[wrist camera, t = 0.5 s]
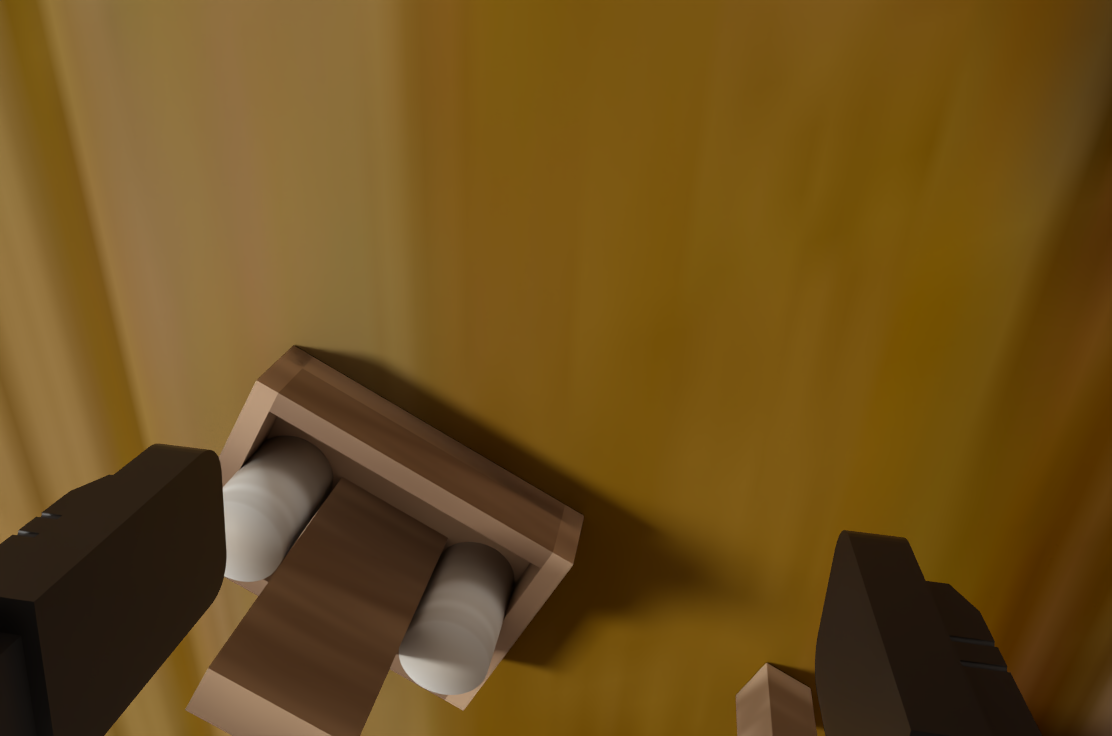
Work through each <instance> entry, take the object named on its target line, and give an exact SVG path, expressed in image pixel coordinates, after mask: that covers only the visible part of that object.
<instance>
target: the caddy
mask: <svg viewBox="0 0 1112 736" xmlns="http://www.w3.org/2000/svg"><path fill="white" fill-rule="evenodd" d="M219 460H220V464H221V470H222V484H223V501H224V517H225V534H226V550H227V560H226V569H225V574H224V577H225V578H227V579H229V580H231V581H232V582H234V583H236V584H238V585H240V586H241V587H243V588H245V589H247V590H249V591H250V592H252V593H254V594H256V595H258V598H257V599H256V601H255V602H254V603H253V605H252V606H251V608H250V609H249V611H248V612H247V613H246V615H245V616H244V618H243V619H242V621H241V622H240V623H239V625H238V626H237V628H236V629H235V631H234V632H233V633H232V635H231V636H230V638H229V639H228V641H227V642H226V643H225V645H224V646H223V648H222V649H221V651H220V652H219V653H218V655H217V656H216V658H215V659H214V661H213V662H212V663H211V665H210V666H209V668H208V669H207V671H206V673H205V675H204V677H203V678H202V680H201V682H200V684H199V686H198V687H197V689H196V691H195V693H194V695H193V697H192V698H191V700H190V702H189V704H188V706H187V707H186V709H185V710H186V711H188V712H190V713H192V714H194V715H196V716H197V717H199V718H201V719H203V720H205V721H207V722H208V723H210V724H212V725H214V726H216V727H218V728H219V729H221V730H223V731H225V732H227V733H229V734H231V735H232V736H360V734H361V732H362V730H363V727H364V725H365V723H366V721H367V718H368V716H369V714H370V712H371V709H372V707H373V705H374V703H375V700H376V698H377V696H378V694H379V692H380V689H381V687H382V685H383V683H384V680H385V678H386V676H387V674H388V671H389V669H390V670H392V671H394V672H395V673H397V674H399V675H401V676H403V677H404V678H406V679H408V680H410V681H411V682H413V683H415V684H417V685H419V686H420V687H422V688H424V689H426V690H428V691H429V692H431V693H433V694H435V695H437V696H438V697H440V698H442V699H444V700H445V701H447V702H449V703H451V704H453V705H454V706H456V707H458V708H460V709H462V710H464V709H465V708H466V706H467V705H468V704H469V702H470V701H471V700H472V698H473V697H474V696H475V694H476V693H477V692H478V690H479V689H480V688H481V686H482V685H483V684H484V682H485V681H486V680H487V678H488V677H489V676H490V674H491V673H492V672H493V670H494V669H495V668H496V666H497V665H498V664H499V663H500V661H501V660H502V659H503V657H504V656H505V655H506V653H507V652H508V651H509V649H510V648H511V647H512V645H513V644H514V643H515V641H516V640H517V639H518V637H519V636H520V635H521V633H522V632H523V631H524V629H525V628H526V627H527V625H528V624H529V623H530V621H531V620H532V619H533V617H534V616H535V615H536V613H537V612H538V611H539V609H540V608H541V607H542V605H543V604H544V603H545V601H546V600H547V599H548V597H549V596H550V595H551V594H552V592H553V591H554V590H555V588H556V587H557V586H558V584H559V583H560V582H561V580H562V579H563V578H564V576H565V575H566V574H567V572H568V571H569V570H570V568H571V567H572V566H573V564H574V559H575V555H576V550H577V546H578V541H579V537H580V532H581V528H582V523H583V519H584V516H583V515H582V514H580V513H578V512H577V511H575V510H573V509H571V508H570V507H568V506H566V505H565V504H563V503H561V502H560V501H558V500H556V499H554V498H553V497H551V496H549V495H548V494H546V493H544V492H543V491H541V490H539V489H537V488H536V487H534V486H532V485H531V484H529V483H527V482H526V481H524V480H522V479H520V478H519V477H517V476H515V475H514V474H512V473H510V472H508V471H507V470H505V469H503V468H502V467H500V466H498V465H497V464H495V463H493V462H491V461H490V460H488V459H486V458H485V457H483V456H481V455H480V454H478V453H476V452H474V451H473V450H471V449H469V448H468V447H466V446H464V445H463V444H461V443H459V442H457V441H456V440H454V439H452V438H451V437H449V436H447V435H445V434H444V433H442V432H440V431H439V430H437V429H435V428H434V427H432V426H430V425H428V424H427V423H425V422H423V421H422V420H420V419H418V418H417V417H415V416H413V415H411V414H410V413H408V412H406V411H405V410H403V409H401V408H400V407H398V406H396V405H394V404H393V403H391V402H389V401H388V400H386V399H384V398H382V397H381V396H379V395H377V394H376V393H374V392H372V391H371V390H369V389H367V388H365V387H364V386H362V385H360V384H359V383H357V382H355V381H354V380H352V379H350V378H348V377H347V376H345V375H343V374H342V373H340V372H338V371H337V370H335V369H333V368H331V367H330V366H328V365H326V364H325V363H323V362H321V361H319V360H318V359H316V358H314V357H313V356H311V355H309V354H308V353H306V352H304V351H302V350H301V349H299V348H297V347H296V346H294V345H293V346H292V347H291V348H290V349H289V350H288V351H287V352H286V353H285V354H284V355H283V356H282V357H281V358H280V359H279V360H277V361H276V362H275V363H274V364H273V365H272V366H271V367H270V368H269V369H268V370H267V371H266V372H265V373H264V374H263V375H262V376H260V377H259V378H258V379H257V380H256V382H255V384H254V386H253V388H252V390H251V393H250V395H249V397H248V399H247V401H246V403H245V405H244V407H243V409H242V411H241V413H240V415H239V417H238V419H237V421H236V423H235V425H234V427H233V429H232V432H231V434H230V436H229V438H228V440H227V442H226V444H225V446H224V448H223V450H222V452H221V454H220V456H219Z"/></svg>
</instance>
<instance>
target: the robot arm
mask: <svg viewBox="0 0 1112 736" xmlns="http://www.w3.org/2000/svg"><path fill="white" fill-rule="evenodd" d="M226 560H227V550H226V534H225V517H224V501H223V484H222V470H221V464H220V460H219V457H218V456H217V454H216V453H215V452H214V451H212V450H206V449H198V448H190V447H182V446H174V445H166V444H154V445H152V446H150V447H148V448H147V449H146V450H145V451H143V452H142V453H141V454H140V455H138V456H137V457H136V458H135V459H133V460H132V461H131V462H129V463H128V464H127V465H126V466H124V467H123V468H122V469H121V470H119V471H118V472H117V473H115V474H114V475H108V476H105V477H103V478H100V479H98V480H96V481H93V482H91V483H88V484H86V485H84V486H81V487H79V488H77V489H74V490H72V491H70V492H68V493H67V494H66V495H64V496H63V497H62V498H60V499H59V500H58V501H56V502H55V503H54V504H53V505H51V506H50V507H49V508H47V509H46V510H45V511H43V512H42V516H41V517H35V518H34V519H33V520H31V521H30V522H29V523H27V524H26V525H25V526H24V527H22V528H21V529H20V530H19V532H18V535H12V536H10V537H9V538H8V539H6V540H5V541H4V542H2V543H1V544H0V736H104V735H105V734H106V733H107V731H108V730H109V729H110V728H111V727H112V725H113V724H114V723H115V722H116V720H117V719H118V718H119V717H120V716H121V714H122V713H123V712H124V711H125V709H126V708H127V707H128V706H129V705H130V703H131V702H132V701H133V700H134V698H135V697H136V696H137V695H138V694H139V692H140V691H141V690H142V689H143V687H144V686H145V685H146V684H147V683H148V681H149V680H150V679H151V678H152V676H153V675H154V674H155V673H156V672H157V670H158V669H159V668H160V667H161V665H162V664H163V663H164V662H165V660H166V659H167V658H168V657H169V656H170V654H171V653H172V652H173V651H174V649H175V648H176V647H177V646H178V645H179V643H180V642H181V641H182V640H183V638H184V637H185V636H186V635H187V634H188V632H189V631H190V630H191V629H192V627H193V626H194V625H195V624H196V623H197V621H198V620H199V619H200V618H201V616H202V615H203V614H204V613H205V612H206V610H207V609H208V608H209V607H210V605H211V604H212V603H213V601H214V600H215V598H216V596H217V595H218V592H219V590H220V588H221V585H222V582H223V578H224V574H225V569H226ZM994 642H995V641H994V639H993V637H992V635H991V633H990V631H989V629H988V627H987V625H986V623H985V621H984V619H983V617H982V615H981V613H980V612H979V611H978V610H977V609H976V608H975V607H974V606H973V605H972V604H971V603H969V602H968V601H967V600H966V599H965V598H964V597H963V596H962V595H961V594H960V593H958V592H957V591H956V590H955V589H954V588H953V587H952V586H951V585H950V584H945V583H937V582H930V581H925V579H924V576H923V574H922V572H921V569H920V567H919V565H918V563H917V560H916V558H915V556H914V553H913V551H912V549H911V546H910V544H909V542H908V540H907V539H906V538H903V537H895V536H887V535H879V534H871V533H863V532H854V531H846V530H844V531H842V532H841V534H840V535H839V538H838V541H837V544H836V548H835V553H834V558H833V562H832V567H831V572H830V577H829V582H828V587H827V592H826V597H825V602H824V607H823V612H822V617H821V622H820V627H819V632H818V638H817V645H816V656H815V681H816V689H817V695H818V700H819V705H820V710H821V715H822V720H823V725H824V730H825V735H826V736H1042V735H1041V733H1040V731H1039V729H1038V727H1037V725H1036V723H1035V721H1034V719H1033V717H1032V715H1031V713H1030V711H1029V709H1028V707H1027V705H1026V703H1025V701H1024V699H1023V697H1022V695H1021V693H1020V691H1019V689H1018V687H1017V685H1016V683H1015V681H1014V679H1013V677H1012V675H1011V673H1009V672H1007V665H1006V663H1005V661H1004V659H1003V657H1002V655H1001V653H1000V651H999V649H998V647H994Z"/></svg>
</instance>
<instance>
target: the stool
mask: <svg viewBox="0 0 1112 736" xmlns="http://www.w3.org/2000/svg"><path fill="white" fill-rule="evenodd" d="M736 712H737V736H817V731H816V724H815V717H814V710H813V703H812V695H811V688H809V687H807V686H806V685H804V684H802V683H800V682H799V681H797V680H795V679H794V678H792V677H790V676H788V675H787V674H785V673H783V672H782V671H780V670H778V669H776V668H775V667H773V666H771V665H770V664H768V663H766V664H765V665H764V666H763V667H762V668H761V669H760V670H759V671H758V672H757V673H756V674H755V676H754V677H753V678H752V679H751V680H750V681H749V682H748V683H747V684H746V685H745V686H744V687H743V688H742V689H741V690H740V691H739V693H738V694H737V695H736Z"/></svg>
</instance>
